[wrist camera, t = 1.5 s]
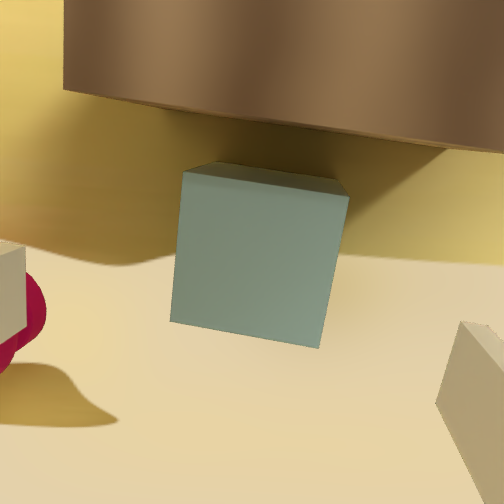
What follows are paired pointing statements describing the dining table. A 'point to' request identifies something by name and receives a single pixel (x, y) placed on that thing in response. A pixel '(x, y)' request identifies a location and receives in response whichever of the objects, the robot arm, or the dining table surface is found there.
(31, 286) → the pepper mill
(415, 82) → the walnut box
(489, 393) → the robot arm
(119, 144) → the dining table surface
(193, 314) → the letter cube
